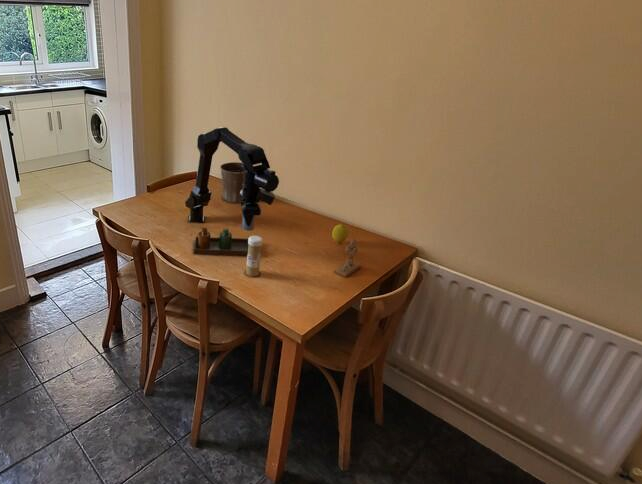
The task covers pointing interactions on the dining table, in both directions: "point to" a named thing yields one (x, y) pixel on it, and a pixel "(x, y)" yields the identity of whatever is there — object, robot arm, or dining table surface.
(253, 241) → the sprinkles bottle
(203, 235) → the amber bottle
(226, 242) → the green bottle
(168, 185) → the dining table surface
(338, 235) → the lemon
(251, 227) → the blue bottle
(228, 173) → the plant pot
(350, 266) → the grey statuette
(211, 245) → the tray
